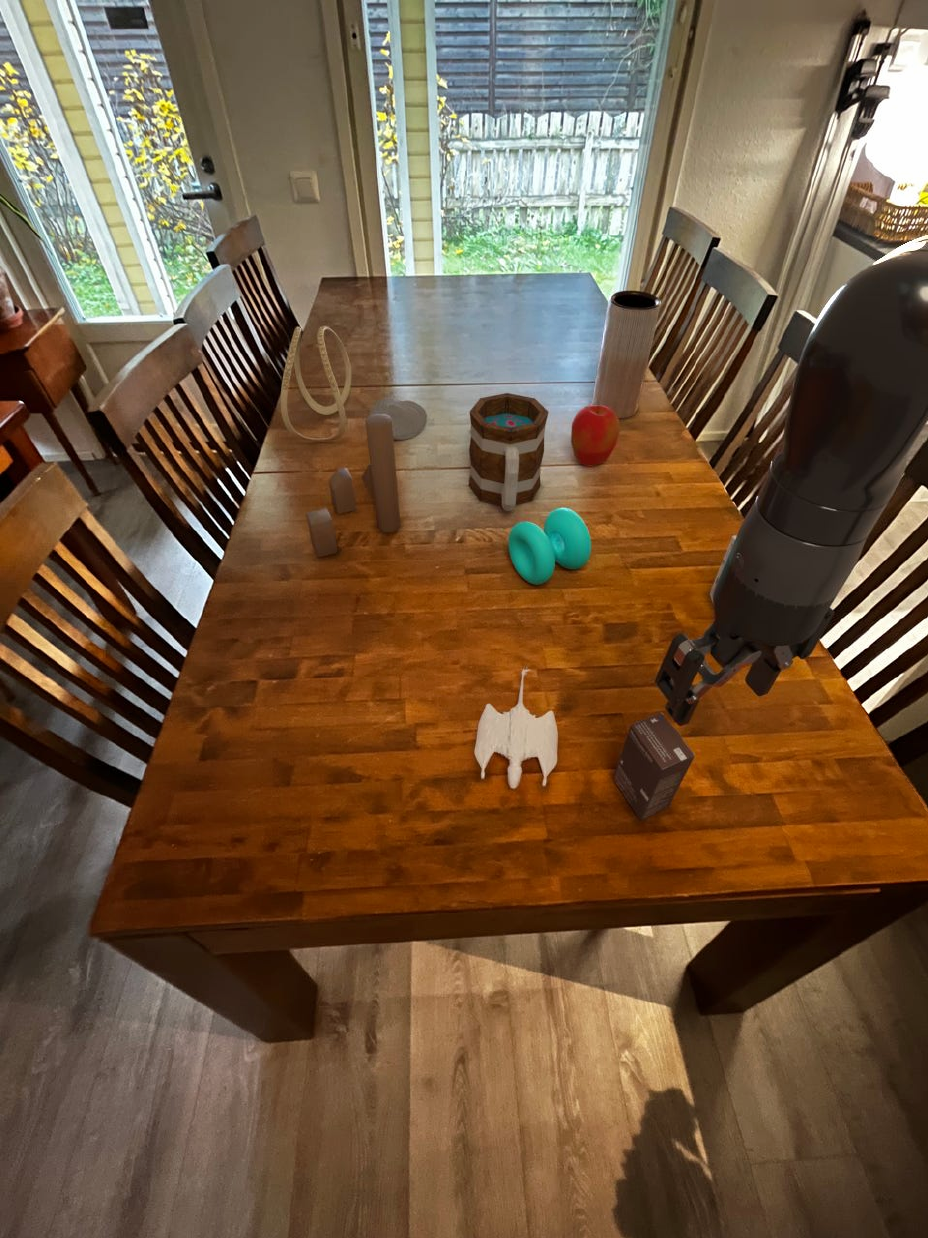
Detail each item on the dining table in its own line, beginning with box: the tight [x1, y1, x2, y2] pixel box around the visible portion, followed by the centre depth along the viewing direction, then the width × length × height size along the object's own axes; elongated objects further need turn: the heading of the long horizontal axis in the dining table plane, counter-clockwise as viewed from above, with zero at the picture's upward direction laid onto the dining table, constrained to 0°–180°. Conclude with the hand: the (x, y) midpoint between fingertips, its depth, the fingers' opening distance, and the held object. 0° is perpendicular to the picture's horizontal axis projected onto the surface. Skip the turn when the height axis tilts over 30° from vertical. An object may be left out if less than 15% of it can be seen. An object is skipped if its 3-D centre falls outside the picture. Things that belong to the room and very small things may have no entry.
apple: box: [570, 404, 621, 467], centre depth 119 cm, size 9×9×12 cm
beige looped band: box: [280, 325, 352, 443], centre depth 125 cm, size 22×12×20 cm, turn 4°
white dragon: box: [473, 665, 559, 789], centre depth 78 cm, size 18×10×4 cm, turn 172°
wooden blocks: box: [305, 414, 401, 558], centre depth 104 cm, size 17×20×20 cm
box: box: [612, 712, 696, 821], centre depth 69 cm, size 6×4×12 cm
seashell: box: [369, 396, 428, 441], centre depth 130 cm, size 12×6×10 cm
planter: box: [591, 290, 662, 419], centre depth 130 cm, size 10×10×23 cm
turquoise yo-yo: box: [507, 507, 592, 585], centre depth 97 cm, size 10×10×10 cm
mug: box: [468, 392, 549, 512], centre depth 110 cm, size 20×14×15 cm
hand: (716, 702), depth 56 cm, fingers open, 8 cm apart
